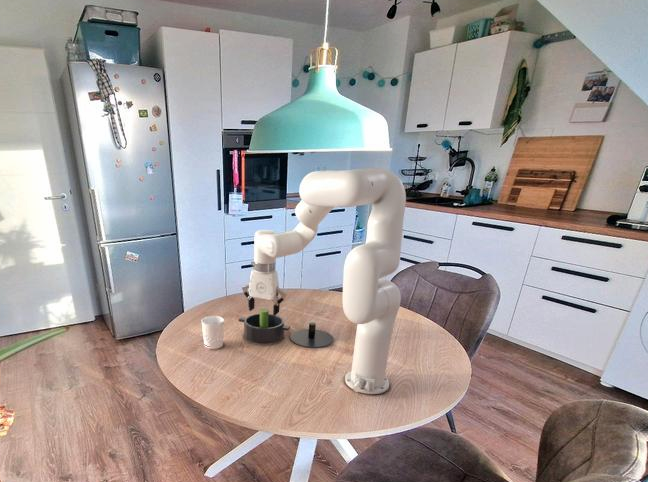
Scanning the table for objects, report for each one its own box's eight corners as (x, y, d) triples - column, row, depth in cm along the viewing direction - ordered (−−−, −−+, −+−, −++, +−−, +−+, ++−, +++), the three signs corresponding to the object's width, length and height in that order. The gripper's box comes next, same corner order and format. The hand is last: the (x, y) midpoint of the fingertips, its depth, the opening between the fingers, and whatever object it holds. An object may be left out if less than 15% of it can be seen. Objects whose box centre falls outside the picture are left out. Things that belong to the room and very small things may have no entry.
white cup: (219, 351, 135) (218, 325, 131) (199, 348, 137) (197, 322, 133) (227, 342, 142) (227, 317, 138) (207, 339, 144) (206, 314, 140)
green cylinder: (265, 337, 144) (266, 312, 140) (258, 336, 145) (258, 311, 141) (269, 334, 146) (269, 309, 142) (261, 332, 148) (262, 308, 144)
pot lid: (326, 353, 133) (327, 336, 130) (283, 344, 140) (284, 327, 137) (337, 336, 146) (339, 319, 143) (298, 328, 152) (299, 312, 150)
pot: (281, 349, 136) (281, 333, 133) (231, 338, 144) (230, 322, 142) (295, 334, 148) (296, 318, 145) (248, 324, 156) (248, 309, 154)
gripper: (237, 266, 136) (238, 311, 143) (283, 272, 128) (281, 319, 135) (247, 261, 142) (247, 304, 149) (291, 267, 134) (289, 312, 142)
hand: (263, 311), depth 142 cm, fingers open, 9 cm apart
